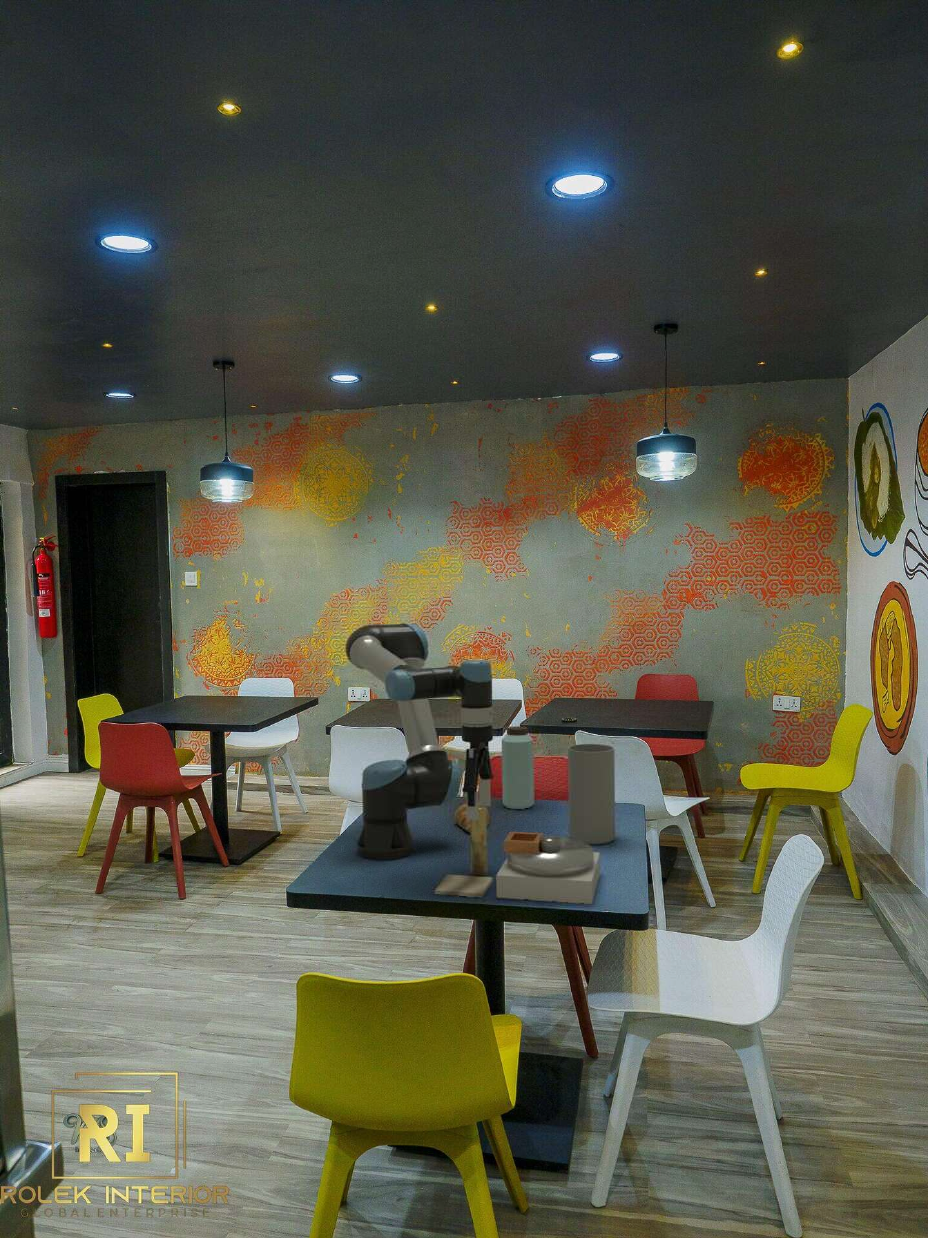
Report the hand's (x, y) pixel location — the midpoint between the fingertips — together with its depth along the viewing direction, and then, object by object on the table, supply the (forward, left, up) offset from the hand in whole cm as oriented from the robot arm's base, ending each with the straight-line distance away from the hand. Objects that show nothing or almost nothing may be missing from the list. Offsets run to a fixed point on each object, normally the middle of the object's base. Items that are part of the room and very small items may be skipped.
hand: (478, 812), depth 206 cm
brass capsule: (0, 0, -15) cm, 15 cm away
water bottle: (-2, +66, -15) cm, 67 cm away
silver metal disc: (+18, -5, -10) cm, 21 cm away
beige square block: (+18, -5, -15) cm, 24 cm away
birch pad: (-1, -11, -15) cm, 18 cm away
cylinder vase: (+24, +34, -15) cm, 44 cm away
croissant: (-12, +42, -15) cm, 46 cm away
